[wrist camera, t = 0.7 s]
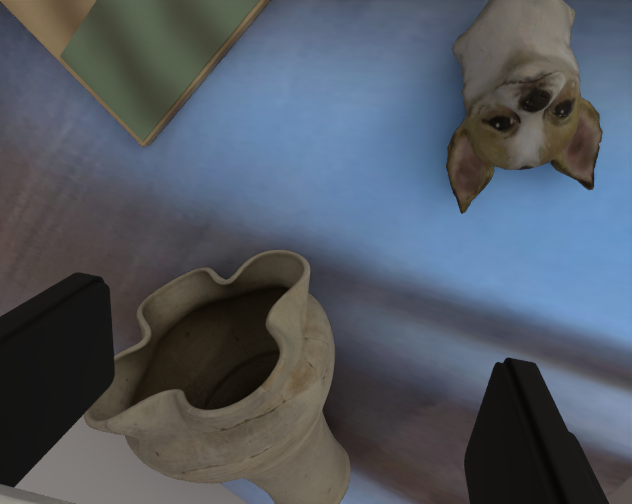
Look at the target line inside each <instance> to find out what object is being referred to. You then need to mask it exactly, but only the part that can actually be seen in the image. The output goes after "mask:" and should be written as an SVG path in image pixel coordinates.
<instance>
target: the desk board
mask: <svg viewBox="0 0 632 504" xmlns="http://www.w3.org/2000/svg"><path fill="white" fill-rule="evenodd" d="M0 1H1V3H2V4H3V5H4V6H5V7H6V8H7V9H8V10H9V11H10V12H11V13H12V14H13V15H14V16H15V17H16V18H17V19H18V20H19V21H20V22H21V23H22V24H23V25H24V26H25V27H26V28H27V29H28V30H29V31H30V32H31V33H32V34H33V35H34V36H35V37H36V38H37V39H38V40H39V41H40V42H41V43H42V44H43V45H44V46H45V47H46V49H47V50H48V51H49V52H50V53H51V54H52V55H53V56H54V57H55V58H56V59H57V60H58V61H59V62H60V63H61V64H62V65H63V66H64V67H65V68H66V69H67V70H68V71H69V72H70V73H71V74H72V75H73V76H74V77H75V78H76V79H77V80H78V81H79V82H80V83H81V84H82V85H83V86H84V87H85V88H86V89H87V90H88V91H89V92H90V94H91V95H92V96H93V97H94V98H95V99H96V100H97V101H98V102H99V103H100V104H101V105H102V106H103V107H104V108H105V109H106V110H107V111H108V112H109V113H110V114H111V115H112V116H113V117H114V118H115V119H116V120H117V121H118V122H119V123H120V124H121V125H122V126H123V127H124V128H125V129H126V130H127V131H128V132H129V133H130V134H131V135H132V136H133V137H134V138H135V140H136V141H137V142H138V143H139V144H140V145H141V146H142V147H145V146H149V145H150V144H151V143H152V142H153V141H154V140H155V138H156V137H157V136H158V135H159V134H160V132H161V131H162V130H163V129H164V128H165V126H166V125H167V124H168V123H169V122H170V121H171V119H172V118H173V117H174V116H175V115H176V113H177V112H178V111H179V110H180V109H181V107H182V106H183V105H184V104H185V103H186V101H187V100H188V99H189V98H190V97H191V95H192V94H193V93H194V92H195V91H196V89H197V88H198V87H199V86H200V85H201V83H202V82H203V81H204V80H205V79H206V77H207V76H208V75H209V74H210V73H211V71H212V70H213V69H214V68H215V67H216V65H217V64H218V63H219V62H220V61H221V59H222V58H223V57H224V56H225V55H226V53H227V52H228V51H229V50H230V49H231V47H232V46H233V45H234V44H235V43H236V41H237V40H238V39H239V38H240V37H241V35H242V34H243V33H244V32H245V31H246V29H247V28H248V27H249V26H250V25H251V24H252V22H253V21H254V20H255V19H256V18H257V16H258V15H259V14H260V13H261V12H262V10H263V9H264V8H265V7H266V6H267V4H268V3H269V2H270V1H271V0H0Z"/></svg>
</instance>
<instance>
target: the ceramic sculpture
mask: <svg viewBox="0 0 632 504" xmlns="http://www.w3.org/2000/svg"><path fill="white" fill-rule="evenodd" d="M574 18H575V10H573V9H572V8H570V7H568V5H567V4H566V3H565V2H564V1H562V0H490V1H489V2H488V3H487V5H486V6H485V7H484V9H483V10H482V12H481V13H480V14H479V16H478V17H477V19H476V20H475V21H474V23H473V24H472V25H471V26H470V28H469V29H468V30H467V31H466V32H465V33H463V34H462V35H460V36H459V37H458V38H457V40H456V42H455V43H454V45H453V48H452V50H453V54H454V55H455V57H456V59H457V61H458V63H459V64H460V65H461V69H462V76H463V90H462V95H463V104H464V107H465V111H466V116H465V118H464V120H463V121H462V123H461V124H460V126H459V127H458V128H457V129H456V131H455V132H454V134H453V136H452V138H451V141H450V143H449V145H448V156H447V164H446V168H447V172H448V177H449V180H450V184H451V187H452V190H453V194H454V195H455V197H456V199H457V203H458V206H459V209H460V212H461V213H462V214H463V213H465V212H466V210H467V208H468V207H469V205H470V203H471V201H472V200H473V199H474V198H475V197H476V196H477V195H478V194H479V193H480V192H481V191H482V190H483V189H484V188H485V187H486V185H487V184H488V183H489V182H490V180H491V178H492V176H493V174H494V166H496V167H499V168H502V169H509V170H522V169H530V168H534V167H537V166H541V165H543V164H545V163H548V162H551V165H552V166H553V167H554V168H555V169H556V170H557V171H559V172H561V173H563V174H565V175H567V176H569V177H571V178H573V179H575V180H577V181H578V182H579V183H580V184H582V185H583V186H584V187H585V188H587V189H588V190H593V188H594V168H595V164H596V160H597V157H598V152H599V148H600V147H599V143H600V142H601V139H602V134H603V132H602V130H601V128H600V123H599V120H600V117H599V113H598V112H597V111H596V110H595V108H594V107H593V106H592V105H591V103H590V102H588V101H587V100H585V99H583V98H581V94H580V78H579V71H578V63H577V61H576V60H575V58H574V54H573V51H572V49H571V47H570V46H569V45H570V38H571V33H570V30H571V27H572V25H573V22H574Z"/></svg>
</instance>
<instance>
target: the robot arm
mask: <svg viewBox="0 0 632 504" xmlns="http://www.w3.org/2000/svg"><path fill="white" fill-rule="evenodd" d="M114 376H115V364H114V349H113V333H112V318H111V303H110V290H109V286H108V285H107V284H105V283H104V280H103V278H101V277H99V276H94V275H89V274H84V273H74V274H72V275H71V276H69V277H67V278H65V279H64V280H62V281H60V282H59V283H57V284H55V285H54V286H52V287H50V288H48V289H47V290H45V291H43V292H42V293H40V294H38V295H36V296H35V297H33V298H31V299H30V300H28V301H26V302H25V303H23V304H21V305H19V306H18V307H16V308H14V309H13V310H11V311H9V312H8V313H6V314H4V315H2V316H1V317H0V504H74V503H71V502H67V501H63V500H59V499H55V498H51V497H48V496H44V495H40V494H36V493H32V492H28V491H25V490H21V489H17V488H14V487H15V486H16V485H17V484H18V483H19V482H20V481H21V480H22V478H23V477H24V476H25V475H26V474H27V473H28V472H29V471H30V470H31V469H32V468H33V467H34V466H35V465H36V464H37V463H38V462H39V460H41V459H42V457H43V456H44V455H45V454H46V453H47V452H48V451H49V450H50V449H51V448H52V447H53V446H54V445H55V444H56V443H57V442H58V441H59V440H60V439H61V438H62V436H63V435H64V434H65V433H66V432H67V431H68V430H69V429H70V428H71V427H72V426H73V425H74V424H75V423H76V422H77V421H78V419H79V418H81V417H82V415H83V414H84V413H85V412H86V411H87V410H88V409H89V408H90V407H91V406H92V405H93V404H94V403H95V402H96V401H97V400H98V399H99V398H100V397H101V396H102V394H103V393H104V392H105V391H106V390H107V389H108V388H109V387H110V386H111V384H112V382H113V380H114ZM464 468H465V475H466V481H467V487H468V493H469V499H470V504H609V502H608V500H607V498H606V496H605V494H604V492H603V490H602V488H601V486H600V484H599V482H598V480H597V478H596V476H595V474H594V472H593V470H592V468H591V466H590V464H589V462H588V460H587V458H586V456H585V454H584V452H583V450H582V448H581V446H580V444H579V442H578V440H577V438H576V437H575V435H574V434H572V433H570V432H569V431H568V429H567V427H566V425H565V423H564V421H563V419H562V417H561V415H560V413H559V411H558V409H557V406H556V404H555V402H554V400H553V398H552V396H551V394H550V392H549V390H548V388H547V386H546V383H545V381H544V379H543V377H542V375H541V373H540V371H539V369H538V367H537V365H536V364H535V363H533V362H528V361H523V360H518V359H513V358H506V359H505V361H504V362H503V363H500V362H497V363H496V364H495V365H494V368H493V371H492V374H491V377H490V380H489V383H488V386H487V389H486V392H485V395H484V398H483V401H482V404H481V407H480V410H479V413H478V416H477V419H476V422H475V425H474V428H473V431H472V434H471V437H470V440H469V443H468V446H467V449H466V453H465V460H464Z"/></svg>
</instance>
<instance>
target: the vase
mask: <svg viewBox="0 0 632 504" xmlns="http://www.w3.org/2000/svg"><path fill="white" fill-rule="evenodd" d="M309 280H310V265H309V263H308V261H307V260H306V259H305V258H304V257H303V256H301V255H299V254H297V253H295V252H291V251H286V250H271V251H266V252H262V253H260V254H257V255H255V256H253V257H252V258H250V259H249V260H247V261H246V262H245V263H244V264H243V265H242V266H241V267H240V268H239V269H238V270H237V272H236V273H235V274H234V275H233V276H232V277H231V278H229V279H227V280H225V279H223V278H222V277H220V276H219V275H218V274H217V273H216V272H215V271H214V270H212V269H211V268H207V267H203V268H199V269H196V270H193V271H190V272H188V273H186V274H184V275H182V276H180V277H178V278H176V279H174V280H173V281H171V282H169V283H167V284H166V285H164V286H162V287H161V288H159V289H158V290H157V291H155V292H154V293H152V294H151V295H150V296H149V297H147V298H146V299H145V300H144V301H143V302H142V303H141V305H140V306H139V308H138V310H137V319H138V322H139V325H140V329H141V332H142V336H143V340H142V341H141V342H139V343H138V344H136V345H134V346H132V347H130V348H128V349H126V350H124V351H122V352H120V353H118V354H117V355H115V356H114V364H115V376H114V380H113V382H112V384H111V386H110V387H109V388H108V389H107V390H106V391H105V392H104V393H103V394H102V396H101V397H100V398H99V399H98V400H97V401H96V402H95V403H94V404H93V405H92V406H91V407H90V408H89V409H88V410H87V411H86V412H85V413H84V418H85V421H86V423H87V425H88V426H89V427H91V428H93V429H96V430H99V431H103V432H109V433H114V434H120V435H125V437H126V440H127V442H128V444H129V446H130V448H131V449H132V451H133V452H134V454H135V455H136V456H137V457H138V458H139V459H140V460H141V461H142V462H143V463H145V464H146V465H147V466H149V467H151V468H152V469H154V470H156V471H158V472H159V473H161V474H163V475H166V476H168V477H172V478H175V479H179V480H184V481H189V482H195V483H221V482H227V481H232V480H237V479H240V478H244V479H247V480H249V481H251V482H252V483H254V484H255V485H257V486H258V487H260V488H261V489H262V490H264V491H265V492H267V493H268V494H269V495H270V497H271V498H272V500H273V502H274V503H275V504H340V502H341V500H342V499H343V497H344V495H345V494H346V492H347V489H348V484H349V482H350V472H351V468H350V462H349V457H348V455H347V452H346V450H345V449H344V448H343V447H342V446H341V445H340V444H339V443H338V442H337V441H336V439H335V438H334V437H333V435H332V433H331V431H330V429H329V427H328V425H327V423H326V420H325V417H324V415H323V411H322V409H323V406H324V403H325V401H326V398H327V395H328V393H329V389H330V386H331V382H332V377H333V372H334V362H335V346H334V339H333V333H332V329H331V326H330V323H329V320H328V318H327V315H326V313H325V311H324V310H323V308H322V306H321V305H320V304H319V302H318V301H317V300H316V299H315V298H314V297H313V296H312V295H311V294H310V293H308V290H309Z"/></svg>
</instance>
